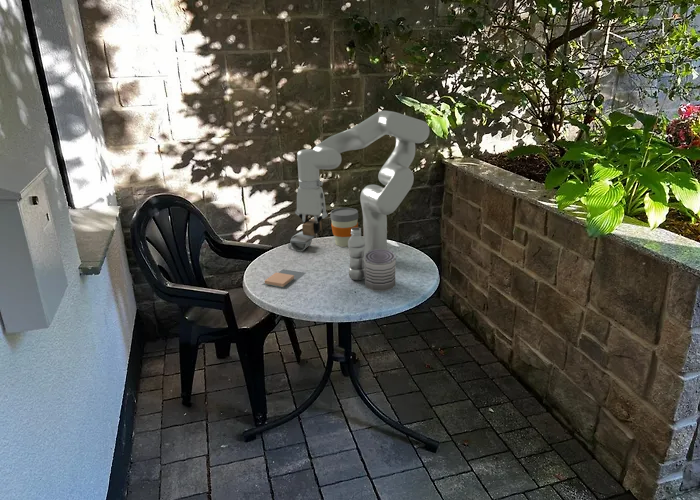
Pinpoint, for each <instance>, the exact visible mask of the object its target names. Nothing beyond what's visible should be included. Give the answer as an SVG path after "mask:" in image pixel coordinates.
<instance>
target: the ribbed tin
mask: <svg viewBox="0 0 700 500" xmlns="http://www.w3.org/2000/svg"><path fill="white" fill-rule="evenodd" d="M395 258H396V259H397V255H396V253H395V252H394V251H393V250H390V249H389V250H385V249H377V250H370V251H369V252H367V253H366V254H365V255H364V259H365V264H364V265H365V277H364V286H365V288H366V289H368V290H369V291H372V292H384V293H385V292H387V291H392V290H393V289H394V288H395V287H396V260H395Z"/></svg>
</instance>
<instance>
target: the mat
mask: <svg viewBox="0 0 700 500" xmlns="http://www.w3.org/2000/svg"><path fill="white" fill-rule="evenodd" d="M278 273H283V274H289V275H294V279H293V280H292V281H290V282H289V283H288V284H287V285H285V286H284V287H277V286H272V285H266V284H265V282H263V283H262V284H261V285H263V286H269V287H272V288H273V287H274V288H279V289H285V290H287V289H288V288H289V287H291V285H293V284H294V283H295V282H297V280H299V279H300V278H302V277H303V276H304V275H305V274H306V272H302V271H296V270H290V269H285V268H283V269H282V270H280V271H279V272H278Z"/></svg>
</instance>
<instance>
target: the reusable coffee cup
mask: <svg viewBox="0 0 700 500" xmlns="http://www.w3.org/2000/svg"><path fill="white" fill-rule="evenodd" d="M329 217H330V220H331V223H330V224H331V230H332V235H333V237H334V241H335V242H334V243H335V245H336V246H337V247H342V248H348V240H349V238H350V237H351V236H352V235H351V229H352V228H359V222H358V220H359V211H358V210H357V209H356V208H353V207H339V208H335V209H331V211H330V216H329Z"/></svg>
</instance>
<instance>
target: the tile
mask: <svg viewBox="0 0 700 500" xmlns="http://www.w3.org/2000/svg"><path fill="white" fill-rule="evenodd" d="M293 279H294V275H289V274H283V273H279V272H274V273H273V274H272V275H270V276H269V277H268V278H266V279H265V280H264V283H265V284H266V285H265V286H267V285H272V286H271V287H273V286H277V287H276V288H278V287H284V286H285V285H287V284H288V283H289V282H290V281H292V280H293Z"/></svg>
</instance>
